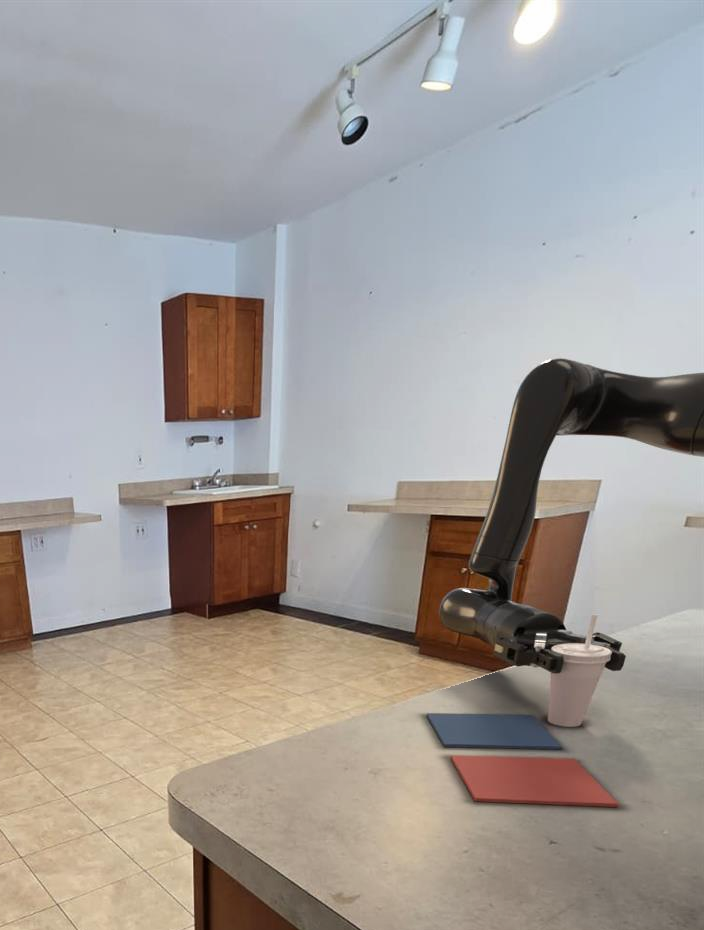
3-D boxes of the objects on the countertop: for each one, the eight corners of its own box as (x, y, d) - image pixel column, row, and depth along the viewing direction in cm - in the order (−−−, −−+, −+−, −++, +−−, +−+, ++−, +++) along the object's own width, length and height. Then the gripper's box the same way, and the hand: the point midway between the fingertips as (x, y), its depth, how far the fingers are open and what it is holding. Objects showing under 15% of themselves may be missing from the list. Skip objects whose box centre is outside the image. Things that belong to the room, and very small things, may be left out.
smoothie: (599, 732, 80) (629, 620, 74) (540, 728, 82) (564, 620, 76) (586, 714, 85) (612, 609, 79) (531, 711, 87) (553, 609, 82)
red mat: (573, 761, 73) (574, 758, 73) (617, 807, 63) (618, 803, 63) (450, 758, 76) (451, 755, 76) (474, 801, 66) (475, 798, 66)
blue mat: (530, 717, 86) (531, 714, 86) (561, 749, 76) (562, 746, 76) (426, 715, 89) (427, 713, 88) (444, 746, 79) (444, 743, 79)
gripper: (475, 610, 92) (534, 637, 77) (579, 604, 91) (661, 631, 76) (467, 660, 95) (522, 696, 80) (568, 655, 94) (644, 691, 79)
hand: (589, 664), depth 78 cm, fingers closed on smoothie, 6 cm apart
